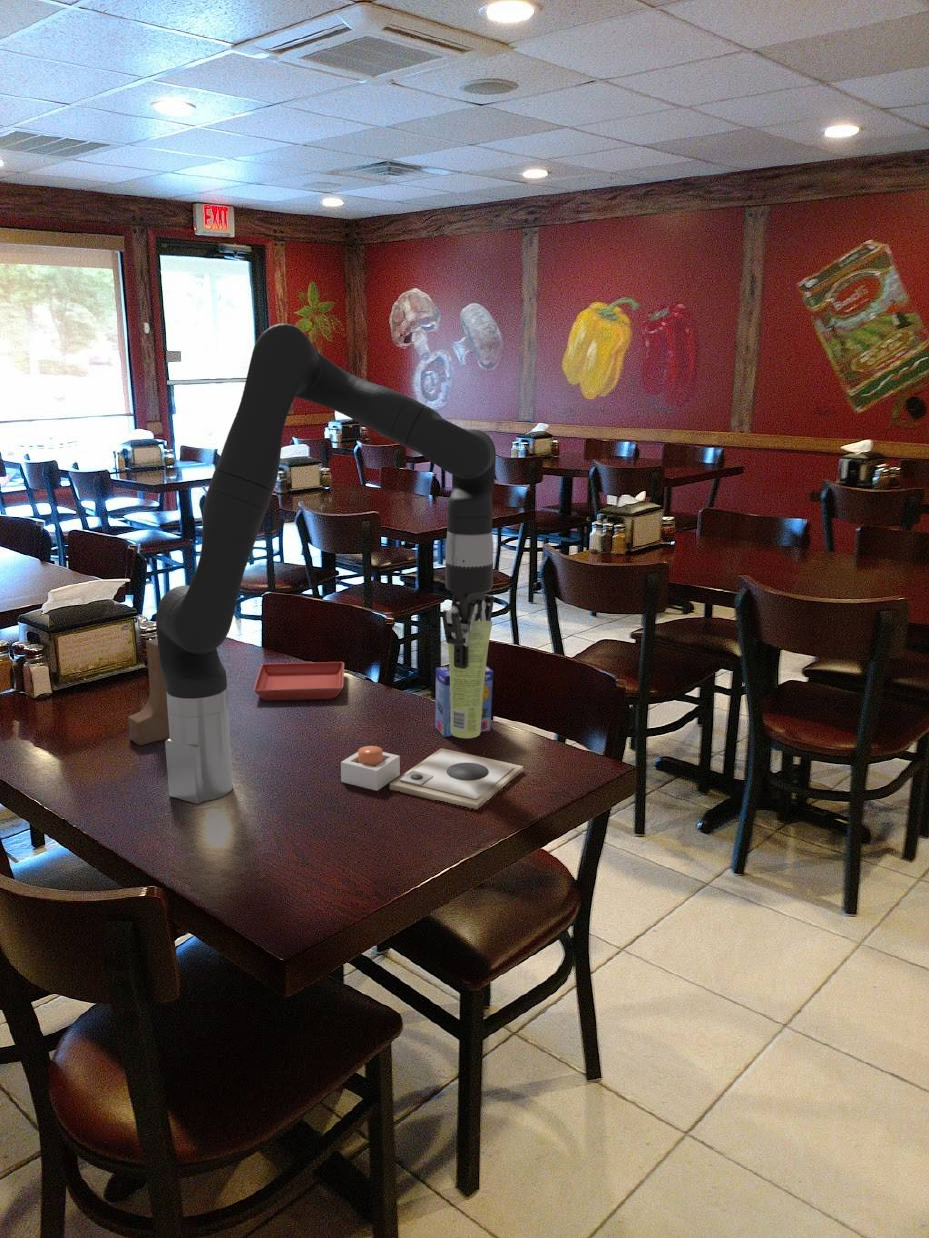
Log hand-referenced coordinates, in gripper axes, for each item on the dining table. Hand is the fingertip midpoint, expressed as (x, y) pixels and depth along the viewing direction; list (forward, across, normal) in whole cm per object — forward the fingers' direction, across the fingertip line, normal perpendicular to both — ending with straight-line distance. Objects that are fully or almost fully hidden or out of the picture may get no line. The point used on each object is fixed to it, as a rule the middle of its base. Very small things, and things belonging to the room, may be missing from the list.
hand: (468, 662), depth 157 cm
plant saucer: (+21, +23, +52) cm, 60 cm away
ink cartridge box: (+20, +19, +11) cm, 30 cm away
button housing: (+20, -8, +14) cm, 26 cm away
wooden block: (+20, -12, +58) cm, 62 cm away
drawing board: (+20, -2, +1) cm, 20 cm away
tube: (+12, 0, 0) cm, 12 cm away
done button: (+19, -8, +14) cm, 25 cm away
